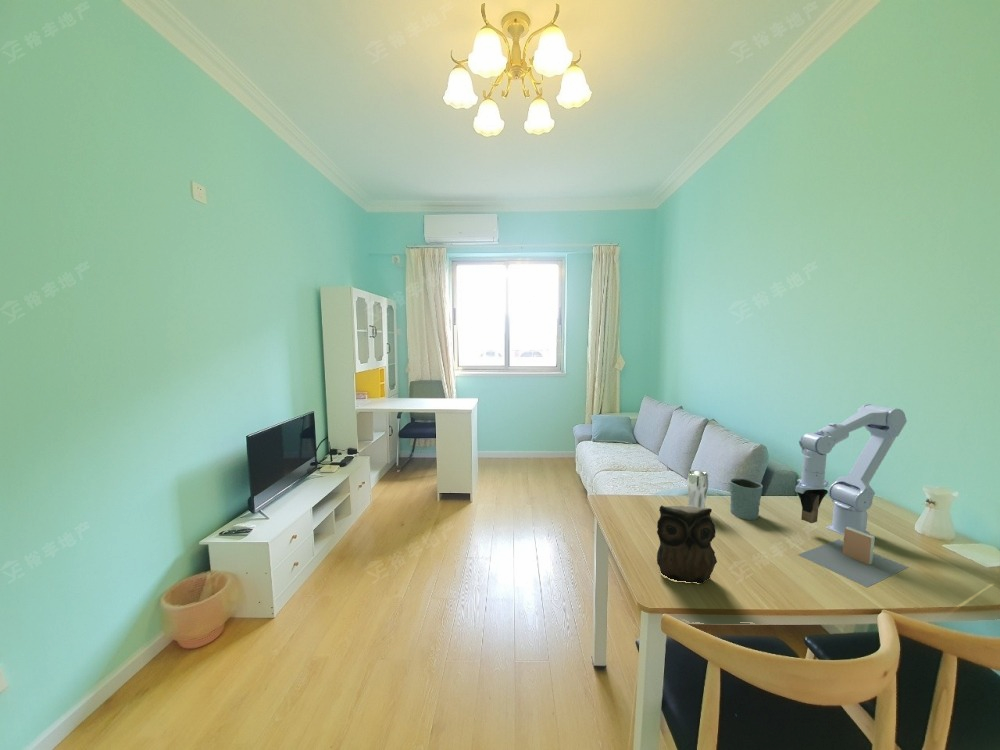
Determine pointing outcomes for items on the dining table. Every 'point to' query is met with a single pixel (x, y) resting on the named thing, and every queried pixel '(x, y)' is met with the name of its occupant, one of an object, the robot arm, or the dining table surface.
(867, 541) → the tile
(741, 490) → the blue-grey cup
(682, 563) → the owl
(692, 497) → the silver upright cylinder
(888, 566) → the mat
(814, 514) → the block
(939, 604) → the dining table surface
